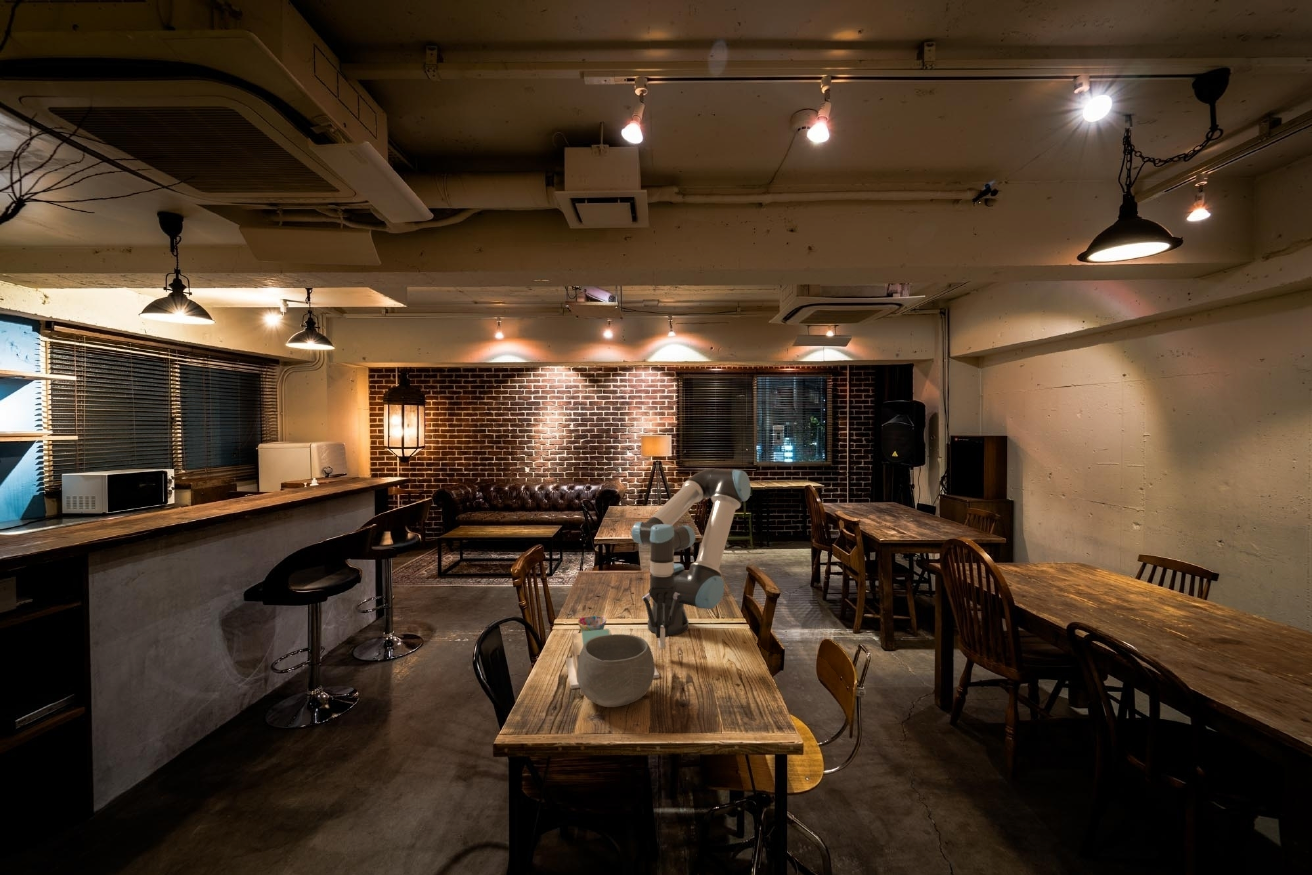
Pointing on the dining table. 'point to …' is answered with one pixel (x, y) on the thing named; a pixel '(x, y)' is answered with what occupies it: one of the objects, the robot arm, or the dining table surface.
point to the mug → (591, 623)
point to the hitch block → (573, 662)
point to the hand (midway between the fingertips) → (661, 647)
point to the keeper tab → (593, 634)
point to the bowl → (615, 669)
